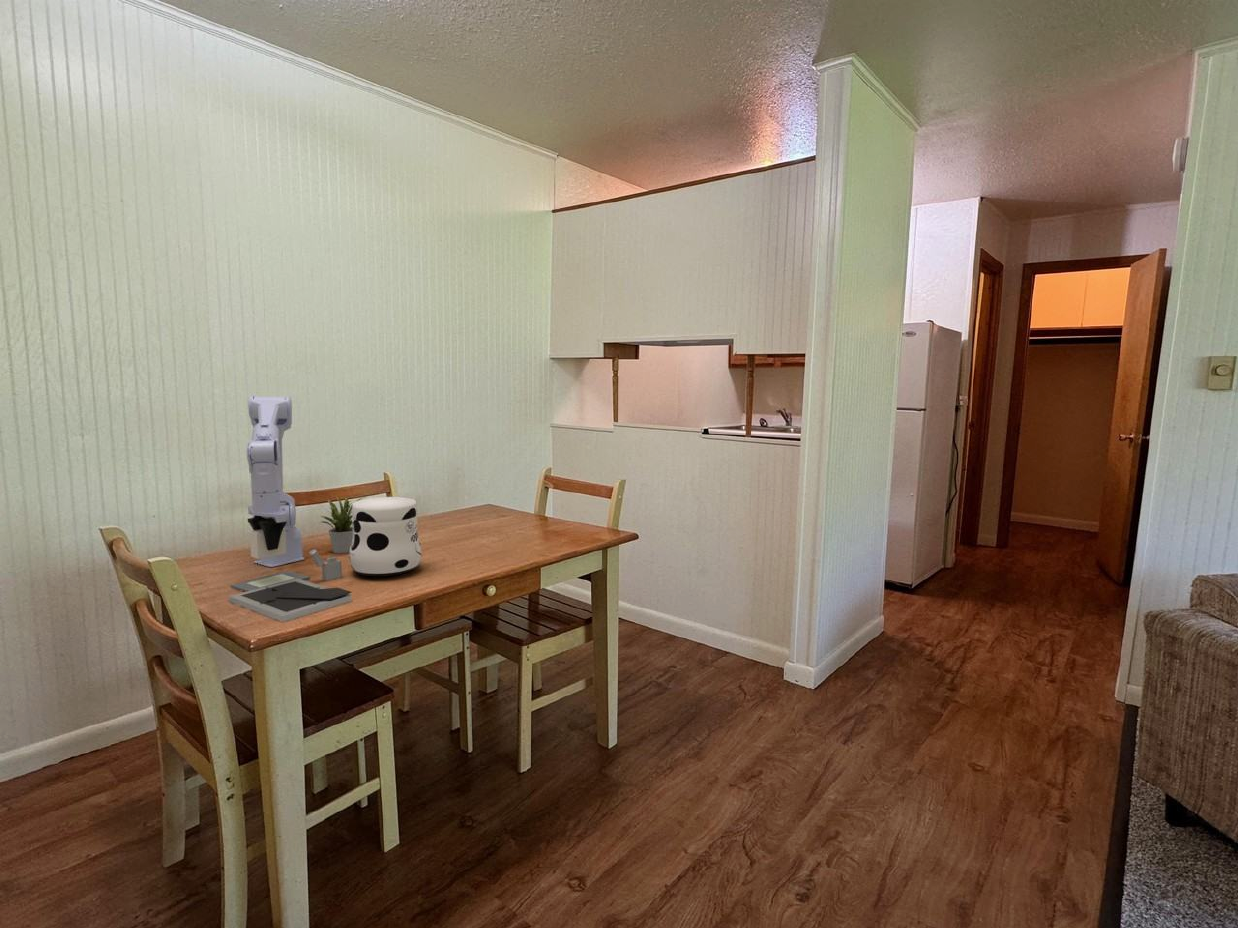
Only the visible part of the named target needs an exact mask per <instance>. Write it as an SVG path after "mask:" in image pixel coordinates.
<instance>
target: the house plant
mask: <svg viewBox="0 0 1238 928" xmlns="http://www.w3.org/2000/svg"><path fill="white" fill-rule="evenodd" d="M335 498H336V499H337V501H338V503H339V508H340V512H339V511H338V510H339V509H338V507H337V506H336V504H335V503H333V502H332V501H331V500H330V499H326V501H327V502H328V504H329V505H330V507H329V508H330V510H331V513H330V512H329V514H331V515H330V516H331V517H332V518H330V517H328V516H324V515H320V517H321V518H323V519H324V520H327V521H324V520H321V521H319V524H320V523H323V524H326V525H330V527H331V528H330V529H329V530H328V535H329V539H330V543H331V549H332V552H333V553H334V554H349V552H350V547H351V543H352V538H353V529H352V518H353V517H352V505H353V502H351V500H349V499H348V496H346V497H345V498H344V504H343V503H342V501H341V499H340V498H339V496H338V495H335ZM362 499H367V496H364V497H360V498H358V499H356V500H355V501H354V502H356V501H359V500H362ZM350 502H351V503H350ZM317 506H320V507H322V508H324V506H323V505H321V504H318V503H317ZM325 510H326V511H328V510H327V509H326V508H325Z"/></svg>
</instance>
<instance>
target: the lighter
mask: <svg viewBox="0 0 1238 928" xmlns="http://www.w3.org/2000/svg"><path fill="white" fill-rule="evenodd" d="M308 553H309V555H310V557H311V558H312V560H313V562H314V563H315V565H316V567H319V568H321V571H322V573H321V574H322V580H323V582H327V581H328V582H329V581H332V580H337V579H341V578H343V574H342V573H343V572H342V571H343V570H342V560H341V559H338V557H336V556H332V557H331V556H330V557H326V561H323V558H322V557H321V556H320V553H319V552H318V550H316V549H314V548H313V549H311V550H310V551H309V552H308Z"/></svg>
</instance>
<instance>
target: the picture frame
mask: <svg viewBox="0 0 1238 928" xmlns="http://www.w3.org/2000/svg"><path fill="white" fill-rule="evenodd" d="M352 597H353V595H352V591H350V590H346V589H343V588H340V587H327V586H324V585H320V584H317V583H314V582H310V581H309V580H306V581H304V580H301V579H294V580H290V581H286V582H282V583H278V584H274V585H270V586H267V587H263V588H259V589H255V590H251V591H247V592H243V591H242V592H240V593H237V594H232V595H228V599H229V603H230V602H231V604H233V603H234V605H236V604H237V605H236V606H238V605H240V606H239V607H241V606H243V607H245V608H244V609H246V608H248V609H247V610H249V609H250V610H249V611H251V610H253V611H252V612H254V611H256V612H255V613H257V612H258V613H257V614H259V613H260V615H262V616H264V615H265V617H268V618H270V619H273V620H275V619H277V620H279V621H278V622H280V621H282V622H281V623H285V622H284V621H286V622H288V621H287V620H289V621H292V620H296V619H299V618H302V617H306V616H308V615H311V614H314V613H318V612H321V611H324V610H328V609H331V608H334V607H338V606H341V605H343V604H347V603H350V602H353V599H352ZM243 607H242V608H243ZM291 619H292V620H291ZM277 620H276V621H277Z"/></svg>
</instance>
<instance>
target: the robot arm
mask: <svg viewBox="0 0 1238 928" xmlns="http://www.w3.org/2000/svg"><path fill="white" fill-rule="evenodd" d="M247 405H248V415H249V418H250V423H251V425H252V428H253V429H252V432H251V441H250V443H249V442H248V443H246V444H247V445H246V459H247V463H248V472H249V473H250V484H251V503H252V505H250V506H249V505H248V506H247V512H248V513H247V515H250V516H252V517H250V518H247V522H248V523H249V525H250V527H251V528H252V531H255V530H261V529H262V530H263V533H264V536H265V541H266V546H267V549H268V550H274V549H278V546H279V541H280V537H281V533H282V530H283V528H284V529H285V536H286V554H281V555H276V556H271V557H266V558H261V559H257V560H254V562H255V563H254V564H257V563H258V564H257V565H261V566H265V567H269V568H274V567H278V566H279V567H280V566H283V565H287V564H290V563H296V562H300V561H303V560H305V557H303V556H304V555H303V552H304V551H303V536H302V535H303V534H302V533H301V530H300V528H299V527H297V526H296V525H297V517H296V516H297V513H296V502H295V499H294V497H293V496H292V495H289V494H288V493H286V492H285V491H284V475H283V473H284V472H283V470H284V468H283V437H284V433H285V432H286V431H287V430H290V429H291V428H292V424H293V405H292V398H291V397H290V396H289V395H285V396H284V395H282V396H281V395H280V396H279V395H278V396H277V395H276V396H275V395H271V396H268V395H267V396H266V395H263V396H261V395H259V396H258V395H257V396H256V395H250V396H249V397H248V402H247Z"/></svg>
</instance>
